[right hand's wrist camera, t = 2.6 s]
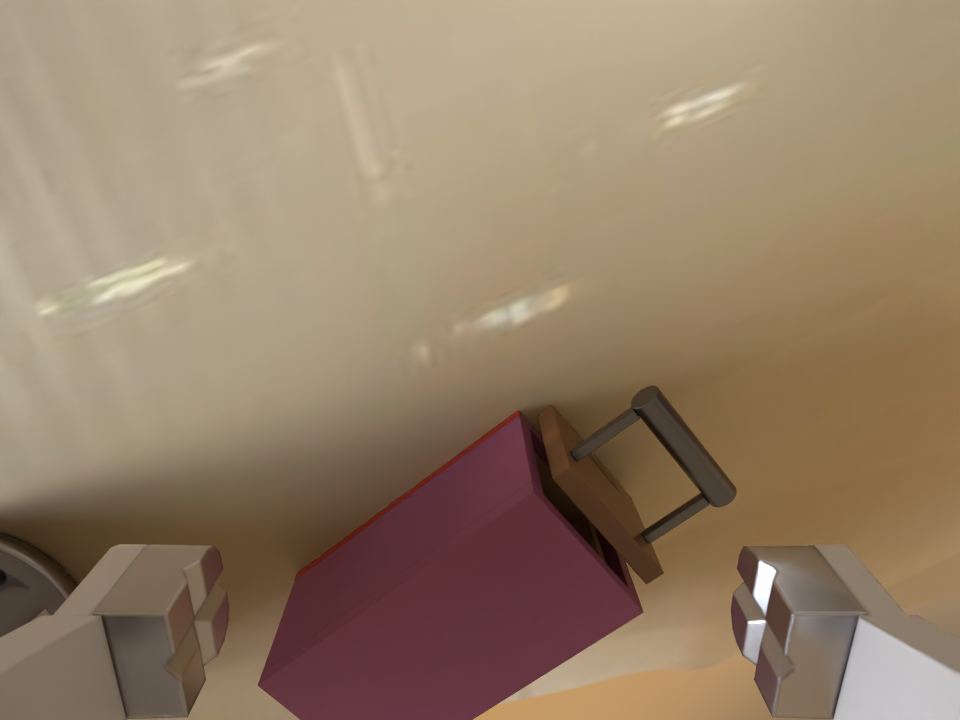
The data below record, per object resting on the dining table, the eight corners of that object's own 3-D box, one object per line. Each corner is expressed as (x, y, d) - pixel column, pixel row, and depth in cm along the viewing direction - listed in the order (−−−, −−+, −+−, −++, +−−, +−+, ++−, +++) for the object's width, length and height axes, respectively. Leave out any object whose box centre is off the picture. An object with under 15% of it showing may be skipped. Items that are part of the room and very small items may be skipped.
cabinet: (518, 410, 43) (533, 491, 34) (608, 511, 46) (644, 612, 37) (296, 573, 48) (256, 685, 38) (391, 657, 50) (375, 780, 41)
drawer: (629, 347, 41) (665, 399, 34) (706, 446, 44) (755, 515, 36) (335, 561, 46) (311, 647, 39) (420, 639, 49) (412, 733, 41)
